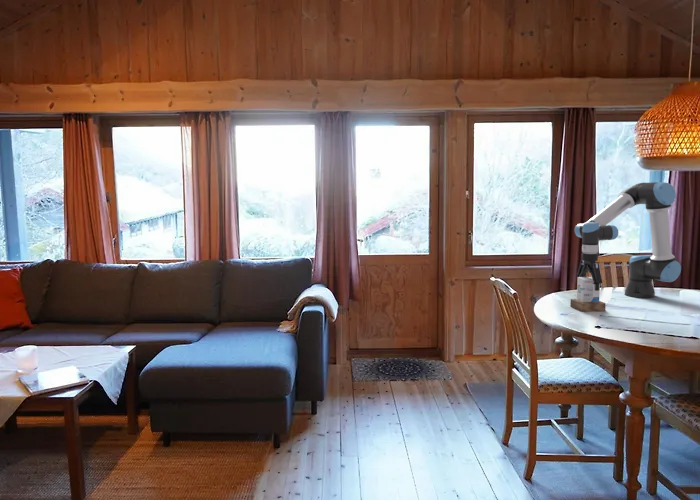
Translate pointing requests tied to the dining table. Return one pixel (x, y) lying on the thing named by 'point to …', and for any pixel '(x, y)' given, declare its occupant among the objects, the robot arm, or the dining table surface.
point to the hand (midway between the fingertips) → (588, 294)
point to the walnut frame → (587, 305)
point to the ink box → (586, 290)
